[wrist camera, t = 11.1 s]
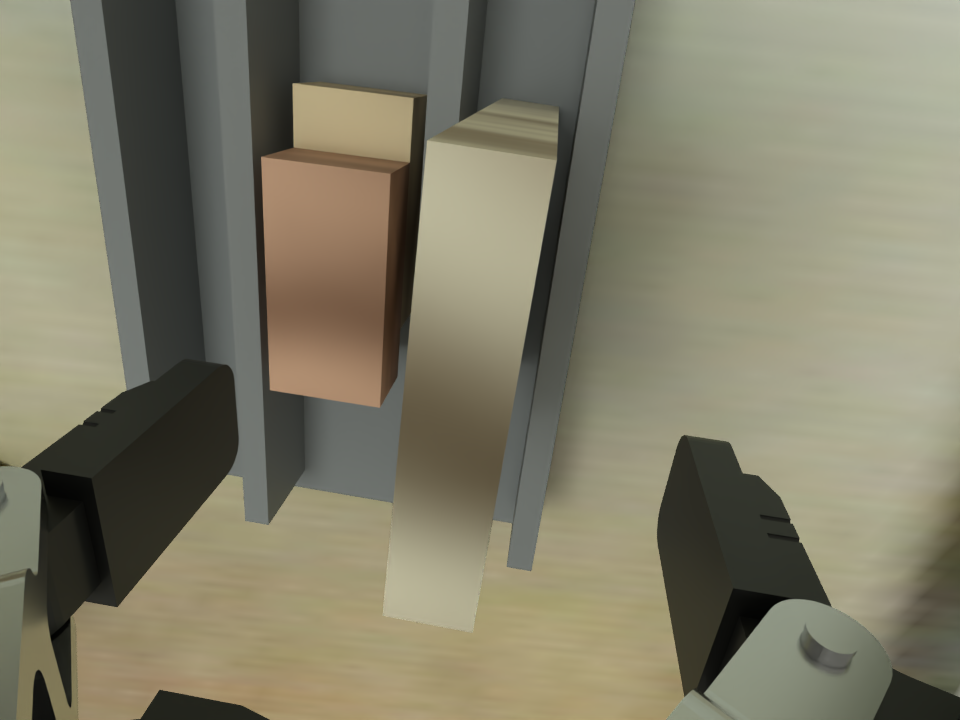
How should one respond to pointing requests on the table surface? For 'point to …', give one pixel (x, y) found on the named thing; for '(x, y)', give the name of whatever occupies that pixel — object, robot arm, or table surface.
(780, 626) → the robot arm
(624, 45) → the rack
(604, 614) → the table surface
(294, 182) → the offcut upper
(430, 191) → the sheet
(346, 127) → the offcut lower
